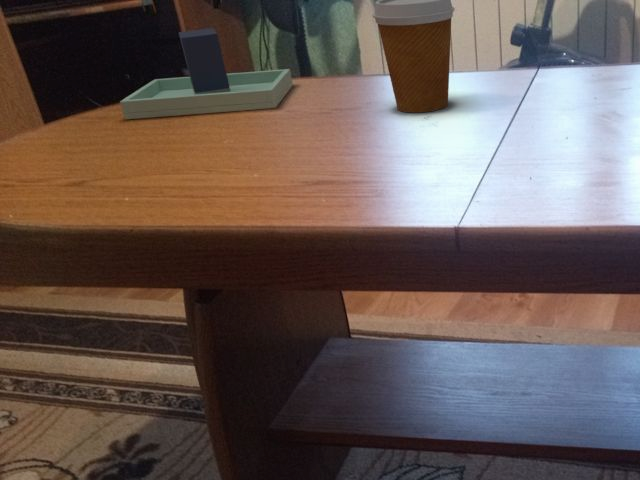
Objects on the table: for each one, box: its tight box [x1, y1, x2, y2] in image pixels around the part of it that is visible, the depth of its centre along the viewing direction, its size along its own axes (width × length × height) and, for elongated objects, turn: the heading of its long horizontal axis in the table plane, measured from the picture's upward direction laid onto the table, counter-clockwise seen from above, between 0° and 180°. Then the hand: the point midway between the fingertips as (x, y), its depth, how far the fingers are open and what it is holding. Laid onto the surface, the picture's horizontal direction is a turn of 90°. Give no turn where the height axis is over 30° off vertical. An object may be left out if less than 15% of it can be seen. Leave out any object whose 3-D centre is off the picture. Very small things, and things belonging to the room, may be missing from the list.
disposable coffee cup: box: [372, 0, 456, 113], centre depth 87 cm, size 10×10×12 cm
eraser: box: [178, 27, 231, 95], centre depth 98 cm, size 6×4×8 cm
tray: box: [119, 68, 294, 120], centre depth 100 cm, size 20×14×2 cm
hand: (184, 8), depth 102 cm, fingers open, 8 cm apart
